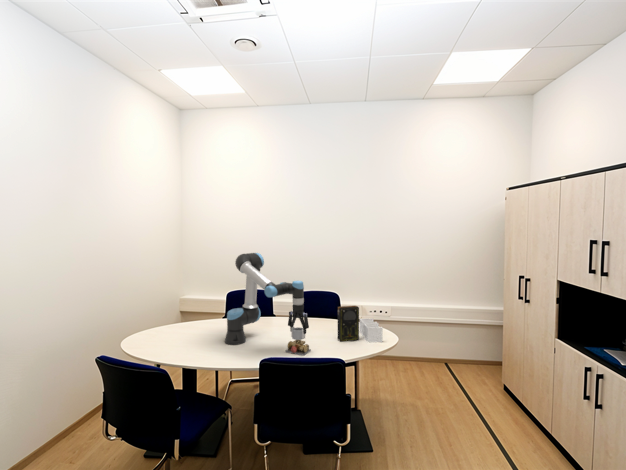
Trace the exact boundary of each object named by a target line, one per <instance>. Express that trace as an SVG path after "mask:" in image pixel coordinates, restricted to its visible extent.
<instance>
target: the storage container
mask: <svg viewBox="0 0 626 470" xmlns="http://www.w3.org/2000/svg"><path fill="white" fill-rule="evenodd" d="M383 329H384V328H383V326H379V322H377V321H374V318H359V334H361V336H362V337H363V338H364V340H365V341H366V342H367V343H368V342H369V343H383V340H384V339H383V337H384V336H383Z"/></svg>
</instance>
